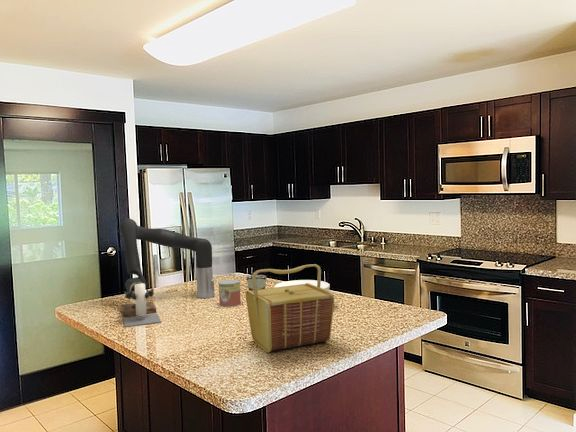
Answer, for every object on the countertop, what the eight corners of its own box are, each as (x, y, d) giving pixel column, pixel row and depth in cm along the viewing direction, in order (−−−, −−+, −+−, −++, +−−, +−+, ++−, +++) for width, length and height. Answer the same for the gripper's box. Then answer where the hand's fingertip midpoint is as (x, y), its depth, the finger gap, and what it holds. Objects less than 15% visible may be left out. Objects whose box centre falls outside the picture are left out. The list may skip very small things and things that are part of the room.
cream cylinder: (146, 311, 228) (144, 282, 228) (146, 314, 224) (145, 284, 223) (135, 312, 227) (134, 284, 226) (136, 315, 222) (134, 285, 221)
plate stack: (291, 318, 222) (290, 293, 221) (266, 305, 247) (265, 284, 246) (341, 309, 235) (340, 286, 234) (312, 298, 260) (311, 277, 259)
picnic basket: (267, 359, 169) (264, 275, 167) (244, 339, 193) (241, 265, 191) (338, 345, 181) (336, 267, 179) (308, 328, 204) (306, 259, 203)
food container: (268, 291, 282) (268, 274, 281) (267, 293, 276) (266, 276, 275) (248, 291, 283) (247, 274, 282) (246, 293, 277) (245, 276, 276)
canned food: (215, 306, 249) (214, 283, 249) (226, 301, 260) (225, 279, 259) (234, 307, 245) (233, 284, 245) (244, 302, 256) (243, 280, 255)
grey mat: (157, 314, 236) (157, 313, 236) (161, 322, 221) (161, 321, 221) (123, 318, 230) (123, 317, 230) (125, 327, 215) (125, 326, 215)
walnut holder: (153, 305, 254) (152, 301, 254) (156, 312, 240) (156, 307, 239) (121, 309, 249) (121, 304, 248) (123, 316, 234) (122, 311, 234)
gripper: (122, 284, 235) (124, 290, 219) (152, 281, 240) (156, 287, 225) (123, 299, 236) (125, 306, 220) (153, 295, 241) (157, 303, 225)
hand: (140, 297), depth 222 cm, fingers closed on cream cylinder, 4 cm apart
